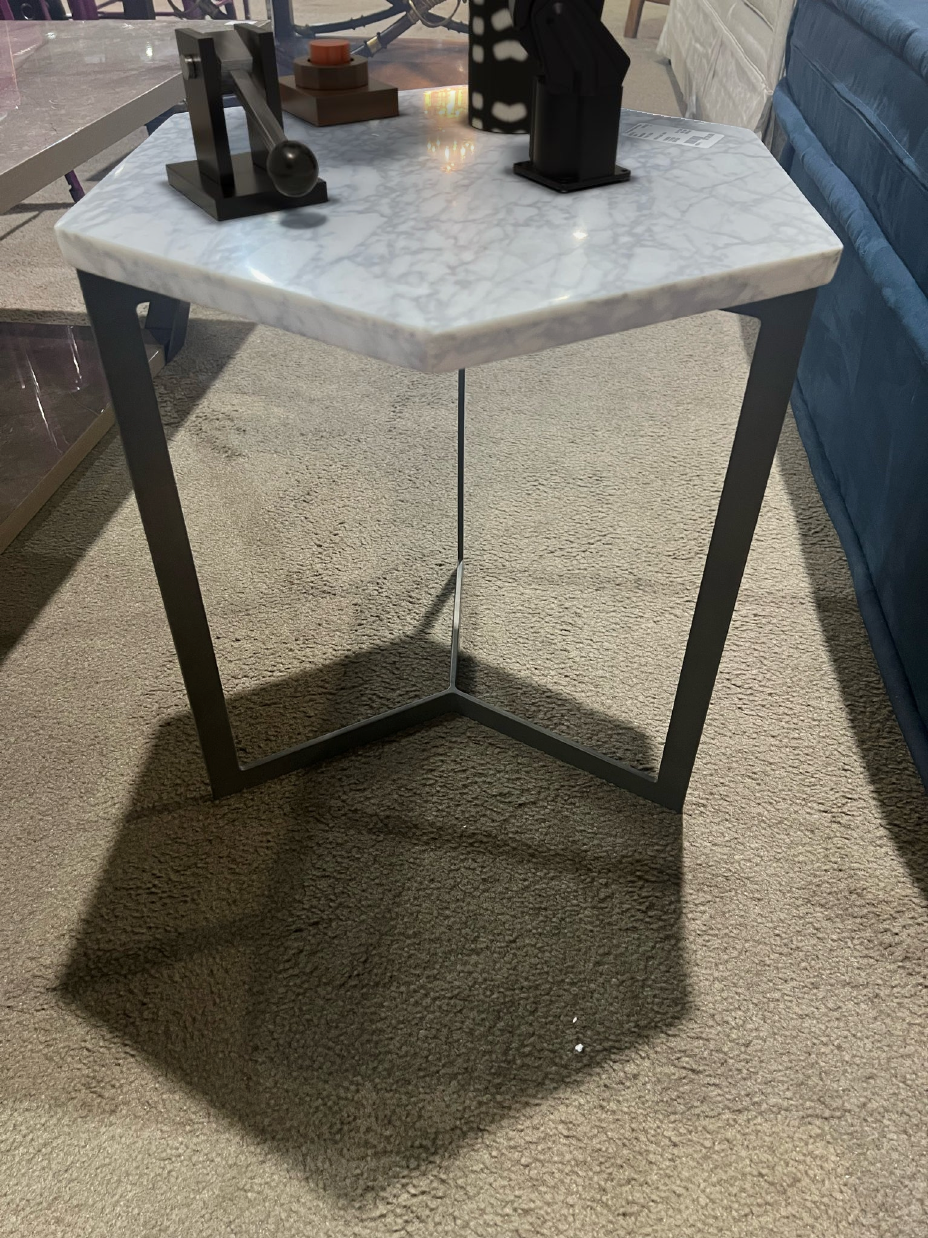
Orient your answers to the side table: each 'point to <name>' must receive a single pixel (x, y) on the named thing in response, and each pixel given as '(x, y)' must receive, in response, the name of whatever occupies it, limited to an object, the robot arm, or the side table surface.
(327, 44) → the button
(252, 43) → the bracket
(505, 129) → the spotted black cylinder
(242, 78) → the lever
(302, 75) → the button block
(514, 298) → the side table surface
